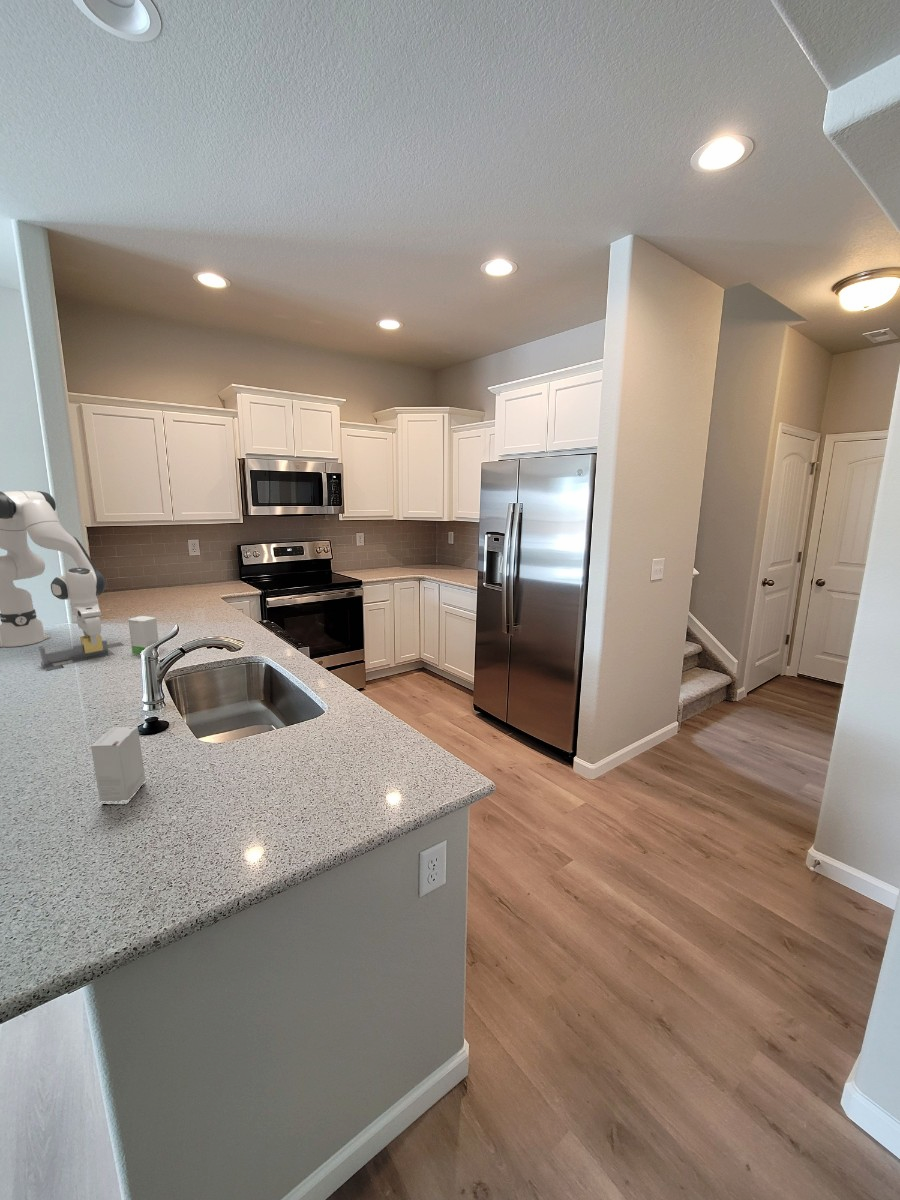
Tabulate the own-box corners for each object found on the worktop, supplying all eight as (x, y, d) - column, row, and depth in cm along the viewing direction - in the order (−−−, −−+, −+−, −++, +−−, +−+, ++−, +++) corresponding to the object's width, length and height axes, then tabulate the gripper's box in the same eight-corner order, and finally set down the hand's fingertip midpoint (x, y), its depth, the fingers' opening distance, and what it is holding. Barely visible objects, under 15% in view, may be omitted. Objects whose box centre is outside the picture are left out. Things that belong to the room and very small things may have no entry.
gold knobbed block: (82, 650, 198) (79, 633, 196) (99, 647, 202) (97, 630, 200) (85, 653, 194) (82, 635, 193) (103, 650, 199) (100, 632, 197)
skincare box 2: (131, 655, 201) (126, 619, 198) (145, 650, 207) (140, 615, 204) (147, 657, 199) (142, 620, 195) (161, 652, 205) (156, 616, 202)
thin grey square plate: (101, 648, 211) (101, 645, 210) (120, 644, 216) (120, 642, 215) (105, 651, 207) (105, 648, 206) (124, 647, 212) (124, 645, 211)
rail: (41, 664, 190) (37, 645, 189) (107, 651, 206) (104, 633, 205) (46, 671, 184) (42, 650, 182) (114, 656, 200) (111, 638, 198)
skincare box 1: (120, 784, 114) (111, 726, 110) (148, 783, 114) (139, 724, 111) (99, 807, 105) (88, 744, 102) (128, 805, 106) (118, 743, 103)
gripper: (70, 606, 199) (75, 638, 202) (82, 614, 185) (88, 649, 188) (88, 603, 203) (93, 635, 206) (101, 611, 190) (107, 645, 193)
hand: (91, 642), depth 197 cm, fingers open, 8 cm apart
